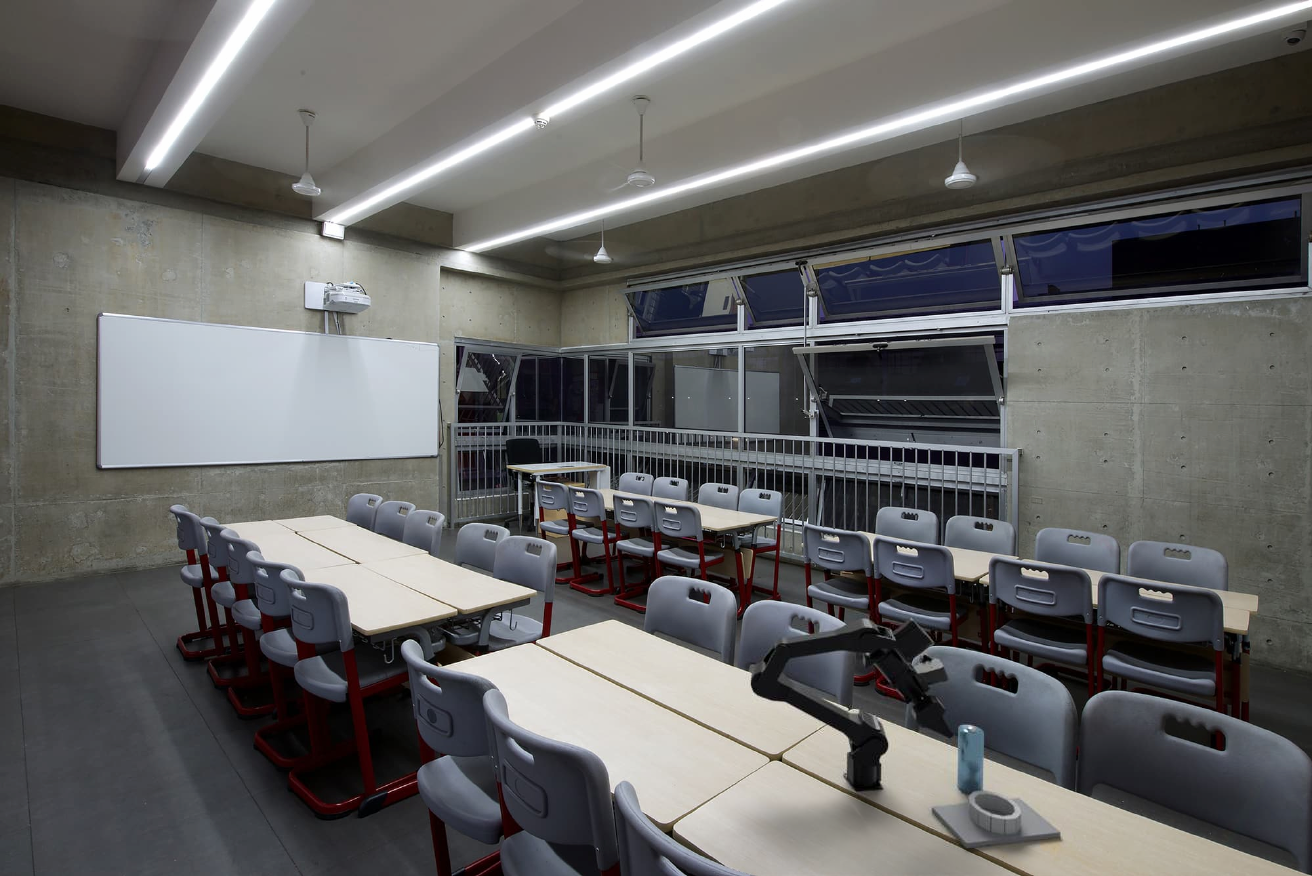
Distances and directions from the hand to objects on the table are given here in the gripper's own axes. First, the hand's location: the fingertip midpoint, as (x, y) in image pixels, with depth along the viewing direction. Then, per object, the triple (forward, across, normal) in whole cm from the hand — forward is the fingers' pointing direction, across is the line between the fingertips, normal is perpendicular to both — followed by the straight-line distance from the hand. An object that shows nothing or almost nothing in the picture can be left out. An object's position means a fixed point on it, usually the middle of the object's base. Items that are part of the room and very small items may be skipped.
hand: (944, 725), depth 135 cm
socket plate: (+15, -11, +4) cm, 19 cm away
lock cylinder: (+14, +1, +5) cm, 15 cm away
